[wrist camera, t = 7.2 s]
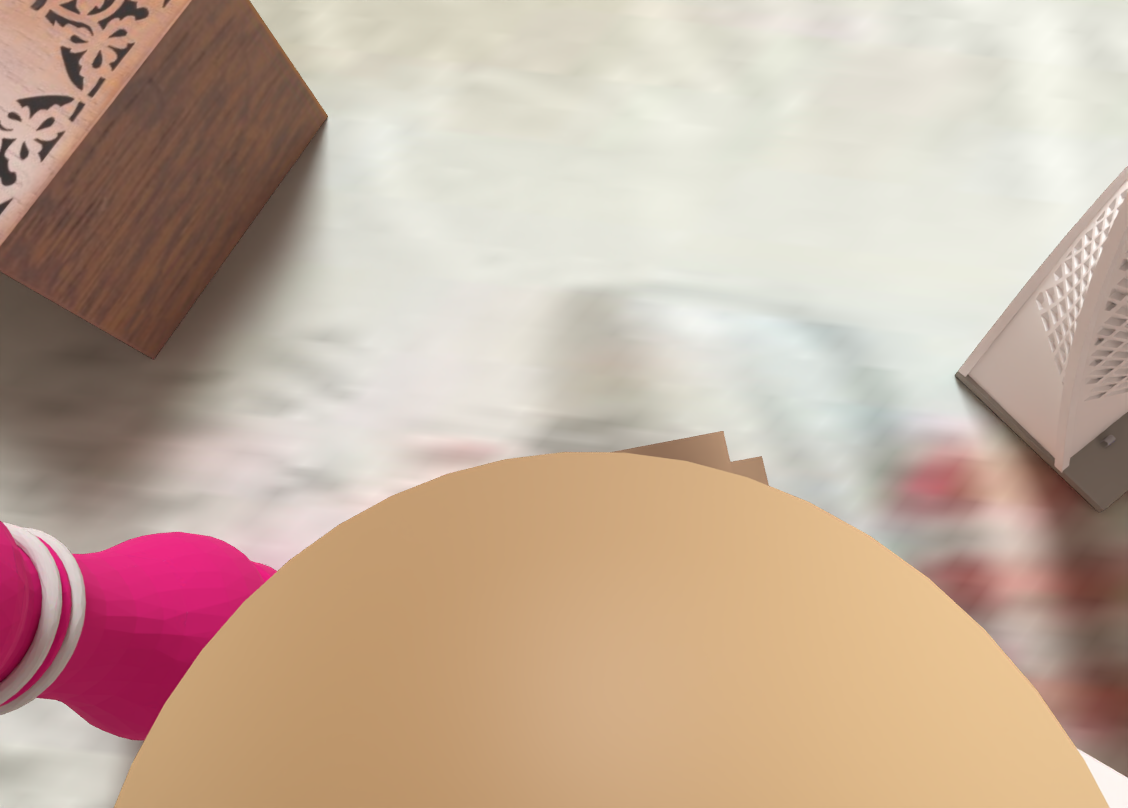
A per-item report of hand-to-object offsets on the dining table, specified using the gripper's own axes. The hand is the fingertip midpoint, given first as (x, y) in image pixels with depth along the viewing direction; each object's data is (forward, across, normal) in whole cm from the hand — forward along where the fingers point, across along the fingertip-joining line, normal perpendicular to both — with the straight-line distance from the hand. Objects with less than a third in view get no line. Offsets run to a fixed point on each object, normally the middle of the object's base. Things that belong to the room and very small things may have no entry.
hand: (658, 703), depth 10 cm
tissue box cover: (+39, -27, +5) cm, 48 cm away
